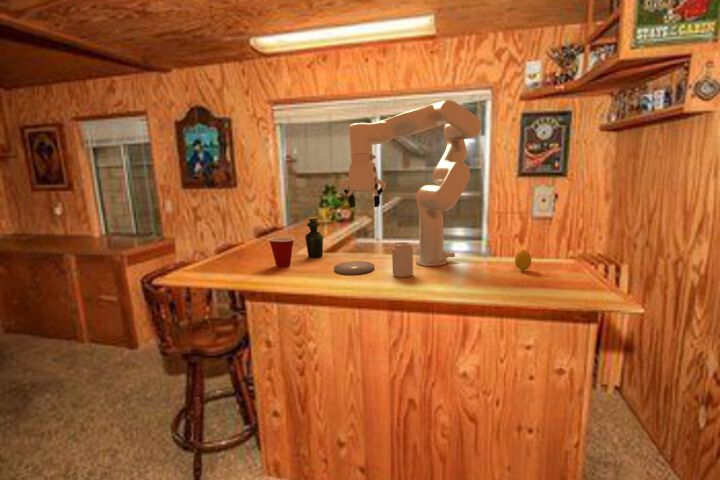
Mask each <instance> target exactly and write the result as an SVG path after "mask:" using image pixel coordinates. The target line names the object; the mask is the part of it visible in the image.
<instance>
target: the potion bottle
mask: <svg viewBox="0 0 720 480" xmlns="http://www.w3.org/2000/svg"><path fill="white" fill-rule="evenodd" d="M308 221H309V222H307V224H306V227H308V228H309V230H310V232H308V233H306V234H305V237H304V239H305V244H306V250H307V256H308V258H309V259H320V258H322V257H323V253H324V251H323V250H324V235H323V234H322V233H321V232H319V231H318V227H319V226H320V225H321V224H320V222H318V217H313V216H312V217H308Z"/></svg>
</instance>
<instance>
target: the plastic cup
mask: <svg viewBox="0 0 720 480" xmlns="http://www.w3.org/2000/svg"><path fill="white" fill-rule="evenodd" d="M268 241H269V244H270V247H271V251H272V255H273V258H274V262H275V265H276V268H287V267H288V268H289V267H290V266H291V264H292V263H291V262H292V252H293V245H294V241H295V237H284V236H283V237H282V236H281V237H280V236H278V237H277V236H276V237H269V238H268Z"/></svg>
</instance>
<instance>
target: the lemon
mask: <svg viewBox="0 0 720 480" xmlns="http://www.w3.org/2000/svg"><path fill="white" fill-rule="evenodd" d="M514 264H515V267H516V268H517V269H518V270H520V271H521V272H524V271H526V270H528V269H529V268H530V267H531V265H532V256H531V254H530V252H528V251H526V250H525V249H522V250H520V251H518V252H517V253H516V255H515V258H514Z"/></svg>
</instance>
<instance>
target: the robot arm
mask: <svg viewBox="0 0 720 480" xmlns="http://www.w3.org/2000/svg"><path fill="white" fill-rule="evenodd" d="M439 126H443V135H444V138H445V141H446V143H445V144H446V146H445V147H446V148H445V150H444V153H443V154H442V156H441V158H440V160H439V162H438V163H437V164H436V166H435V168H434V170H433V173H432V181H433V182H434V183H435V184H425V185H424V186H421V187H420V188H419V189H418V191H417V192H416V205H417V210H418V219H419V221H418V224H419V225H418V227H419V233H418V234H419V235H418V236H419V257H418V258H416V260H415V262H416V264H417V265H419V266H425V267H439V266H443V265H447V264H448V258H455V256H456V253H455V252H450V251H444V216H443V212H446V211H449V210H452V209H453V208H454V207H455V206H456V204H457V202H458V201H459V199H460V198H461V195H462V194H463V192H464V190H465V189H466V187H467V185H468V183H469V180H470V177H471V172H470V167H469V166H468V165H467V164H466V163H465V162H464V161H465V160H466V157H467V147H466V145H467V144H466V142H465V140H468V139H469V140H471V139H474V138H476V137H477V136H479V134H480V132H481V131H482V124H481V121H480V119H479V117H478V116H477V115H475V114H474V113H473V112H471V111H470V110H468V109H467V108H466V107H464V106H462V105H461V104H459V103H458V102H456V101H453V100H450V99H447V100H446V99H445V100H442V101H438V102H434V103H432V104H428V105H425V106H421V107H419V108H415V109H414V108H413V109H411V110H407V111H405V112H403V113H400V114H397V115H395V116H392V117H389V118H386V119H382V120H379V121H376V122H372V123H367V122H360V123H359V122H358V123H352V124H351V125H349V128H348V129H349V130H348V133H349V147H350V159H351V160H350V161H351V162H350V164H349V167H348V180H347V181H346V182H343V183H342V184H341V185H340V186H341V188H342V190H343V192H344V193H345V195H346V196H347V197H348V205H349V208H354V207H356V196H355V195H354V194H355V193H356V192H372V193H373V194H374V196H373V207H374V208H379V207H380V205H381V194H382V193H383V192H384V190H385V188H386V186H387V183H386V182H385V181H383V180H381V179H379V178H378V171H377V167H376V163H375V162H373V161H374V160H376V157H377V156H376V155H375V154H373V151H372V146H374V145H382V144H386V143H389V142H390V141H392V139H395V138H399V137H406V136H411V135H416V134H419V133H422V132H424V131H427V130H430V129H433V128H437V127H439ZM348 187H349V189H348ZM379 187H380V188H379Z"/></svg>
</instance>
